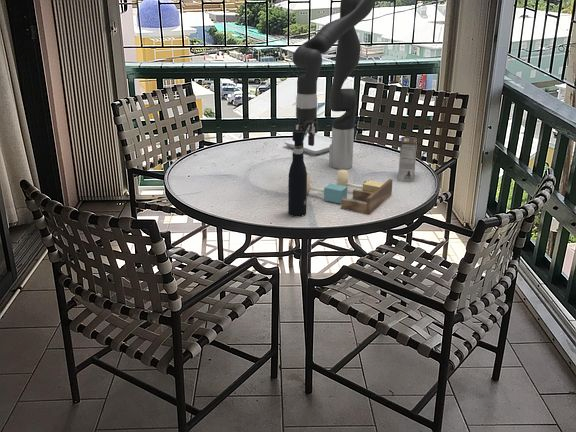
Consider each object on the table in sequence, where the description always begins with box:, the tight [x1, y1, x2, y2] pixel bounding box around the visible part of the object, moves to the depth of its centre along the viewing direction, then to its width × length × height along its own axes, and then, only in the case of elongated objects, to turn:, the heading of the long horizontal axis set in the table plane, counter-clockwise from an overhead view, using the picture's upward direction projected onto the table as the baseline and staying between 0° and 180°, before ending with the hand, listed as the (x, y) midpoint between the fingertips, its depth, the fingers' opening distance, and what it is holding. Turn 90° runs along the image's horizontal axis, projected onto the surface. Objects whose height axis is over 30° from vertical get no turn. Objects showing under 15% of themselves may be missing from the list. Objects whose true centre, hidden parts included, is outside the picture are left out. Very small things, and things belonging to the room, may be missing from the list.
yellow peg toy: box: [336, 169, 385, 193], centre depth 237 cm, size 18×5×8 cm, turn 61°
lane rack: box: [340, 178, 393, 215], centre depth 231 cm, size 11×22×6 cm, turn 151°
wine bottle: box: [287, 129, 308, 217], centre depth 215 cm, size 6×6×30 cm
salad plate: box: [283, 133, 332, 155], centre depth 292 cm, size 21×21×3 cm
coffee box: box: [397, 136, 418, 182], centre depth 252 cm, size 9×6×16 cm
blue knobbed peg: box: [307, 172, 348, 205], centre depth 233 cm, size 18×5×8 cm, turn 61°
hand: (305, 148), depth 231 cm, fingers open, 8 cm apart
